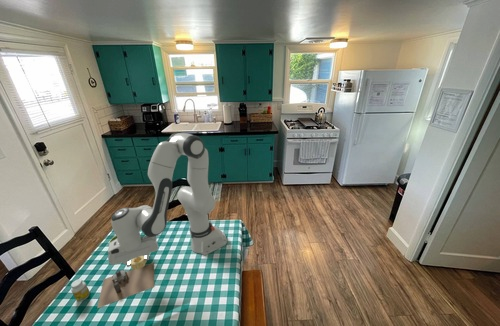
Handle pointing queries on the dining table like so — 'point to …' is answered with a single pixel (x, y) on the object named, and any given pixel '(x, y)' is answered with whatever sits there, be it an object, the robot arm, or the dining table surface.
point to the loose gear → (138, 262)
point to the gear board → (126, 284)
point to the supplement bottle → (80, 290)
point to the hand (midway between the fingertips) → (138, 262)
